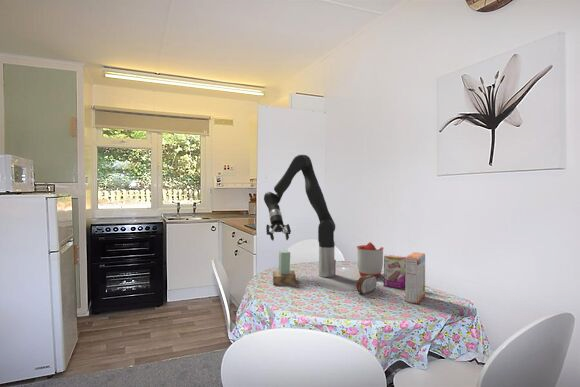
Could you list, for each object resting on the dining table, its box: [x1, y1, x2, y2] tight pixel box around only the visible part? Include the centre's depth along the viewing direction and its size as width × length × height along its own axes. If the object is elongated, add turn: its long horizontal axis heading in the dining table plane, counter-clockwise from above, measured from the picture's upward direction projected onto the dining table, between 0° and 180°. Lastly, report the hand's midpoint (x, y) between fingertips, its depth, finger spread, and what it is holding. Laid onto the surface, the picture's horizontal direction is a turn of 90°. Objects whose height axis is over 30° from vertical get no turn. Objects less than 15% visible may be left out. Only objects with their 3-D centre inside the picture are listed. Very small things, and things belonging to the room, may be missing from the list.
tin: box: [356, 274, 378, 295], centre depth 168 cm, size 15×3×8 cm, turn 134°
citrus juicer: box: [356, 241, 384, 278], centre depth 200 cm, size 16×17×20 cm
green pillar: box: [277, 250, 291, 274], centre depth 185 cm, size 5×5×12 cm
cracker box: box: [404, 252, 426, 304], centre depth 158 cm, size 14×6×21 cm, turn 144°
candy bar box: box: [383, 254, 408, 290], centre depth 178 cm, size 11×5×16 cm, turn 65°
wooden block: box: [272, 270, 297, 286], centre depth 185 cm, size 12×12×5 cm
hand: (280, 239), depth 194 cm, fingers open, 8 cm apart
